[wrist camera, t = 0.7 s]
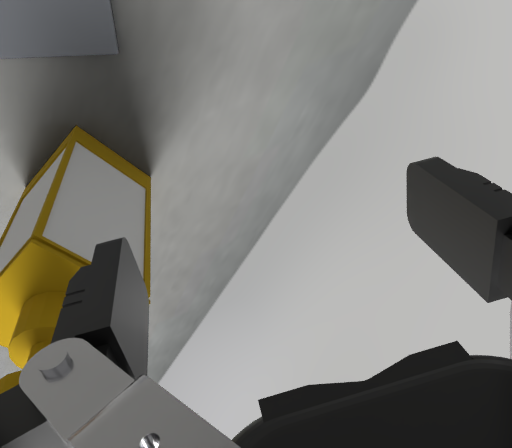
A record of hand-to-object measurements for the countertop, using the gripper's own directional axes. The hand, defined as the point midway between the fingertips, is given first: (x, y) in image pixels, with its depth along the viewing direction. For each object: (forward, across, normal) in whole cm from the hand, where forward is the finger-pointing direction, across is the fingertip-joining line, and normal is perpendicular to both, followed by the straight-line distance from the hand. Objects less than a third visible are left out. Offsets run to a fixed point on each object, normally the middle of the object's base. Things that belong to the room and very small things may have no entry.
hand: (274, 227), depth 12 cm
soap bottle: (+26, +10, +9) cm, 29 cm away
